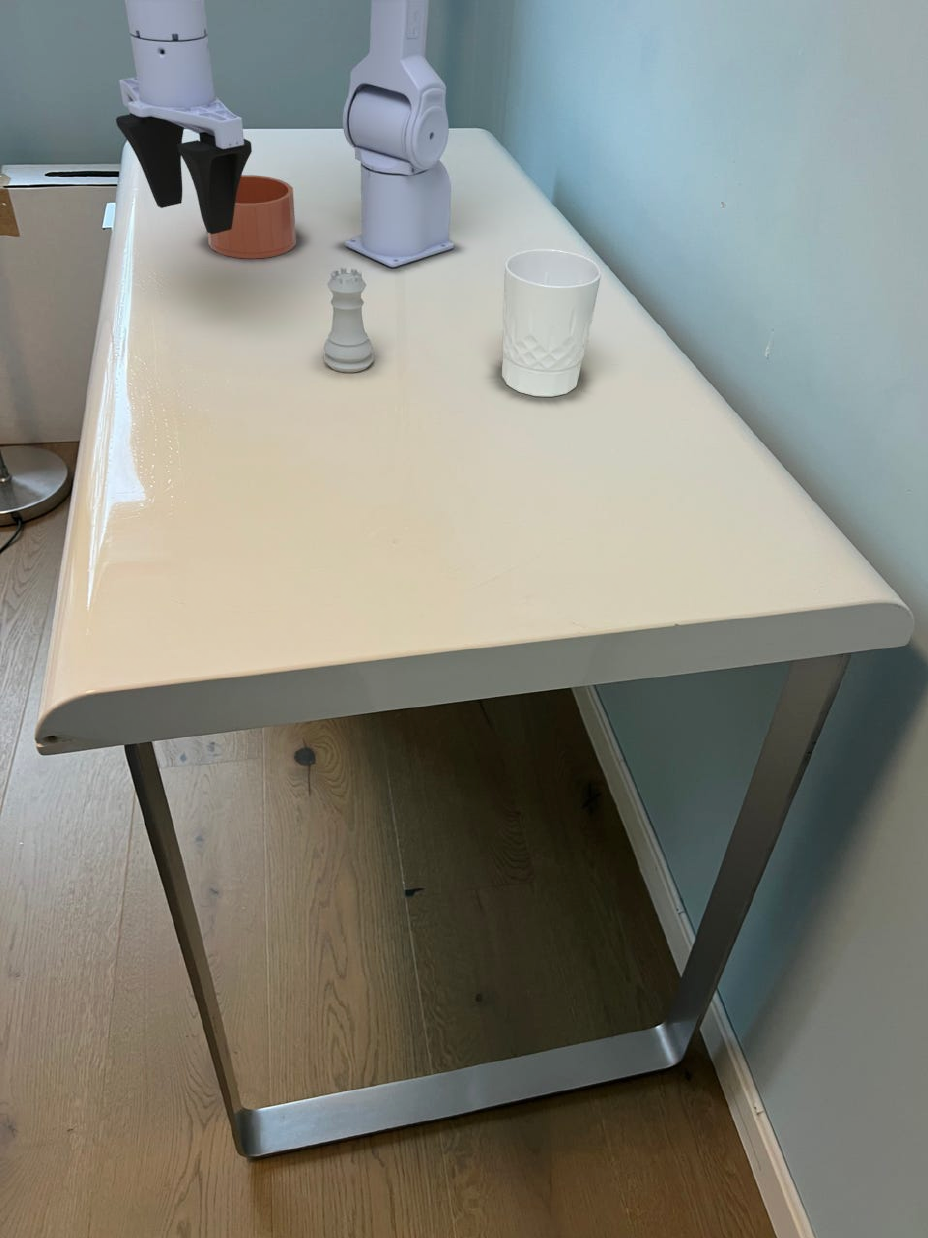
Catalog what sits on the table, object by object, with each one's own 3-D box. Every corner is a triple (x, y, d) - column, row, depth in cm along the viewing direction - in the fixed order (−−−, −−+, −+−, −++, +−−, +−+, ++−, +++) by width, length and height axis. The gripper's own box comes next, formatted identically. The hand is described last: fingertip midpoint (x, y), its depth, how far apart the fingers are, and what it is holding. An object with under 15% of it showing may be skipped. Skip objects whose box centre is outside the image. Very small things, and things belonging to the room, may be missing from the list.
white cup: (579, 407, 80) (596, 292, 73) (488, 393, 81) (497, 279, 74) (588, 365, 86) (605, 255, 79) (503, 352, 86) (513, 243, 80)
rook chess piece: (324, 350, 85) (320, 262, 79) (373, 351, 85) (373, 263, 80) (322, 374, 82) (318, 283, 76) (374, 374, 82) (373, 284, 77)
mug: (313, 245, 103) (310, 192, 99) (242, 265, 98) (236, 211, 94) (246, 212, 109) (241, 162, 106) (175, 230, 104) (168, 178, 100)
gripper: (72, 20, 73) (107, 202, 82) (175, 59, 65) (201, 254, 75) (153, 12, 77) (178, 186, 86) (259, 48, 69) (274, 234, 78)
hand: (193, 217), depth 80 cm, fingers open, 7 cm apart
